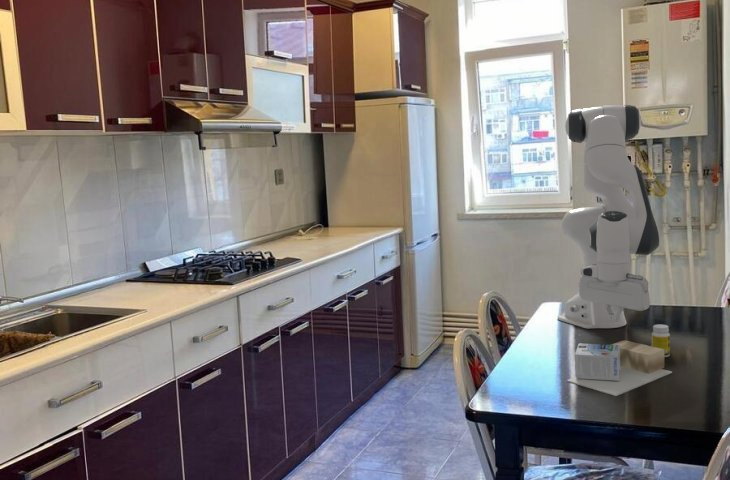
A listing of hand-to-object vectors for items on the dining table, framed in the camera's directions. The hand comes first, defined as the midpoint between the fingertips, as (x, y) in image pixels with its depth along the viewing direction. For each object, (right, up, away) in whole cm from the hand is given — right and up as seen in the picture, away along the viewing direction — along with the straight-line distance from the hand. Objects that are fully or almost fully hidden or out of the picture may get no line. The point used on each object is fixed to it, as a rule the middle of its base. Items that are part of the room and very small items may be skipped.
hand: (613, 320), depth 187 cm
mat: (-3, -13, -12) cm, 18 cm away
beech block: (+1, -9, 0) cm, 9 cm away
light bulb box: (-13, -10, -8) cm, 18 cm away
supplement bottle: (+15, -10, +4) cm, 18 cm away
